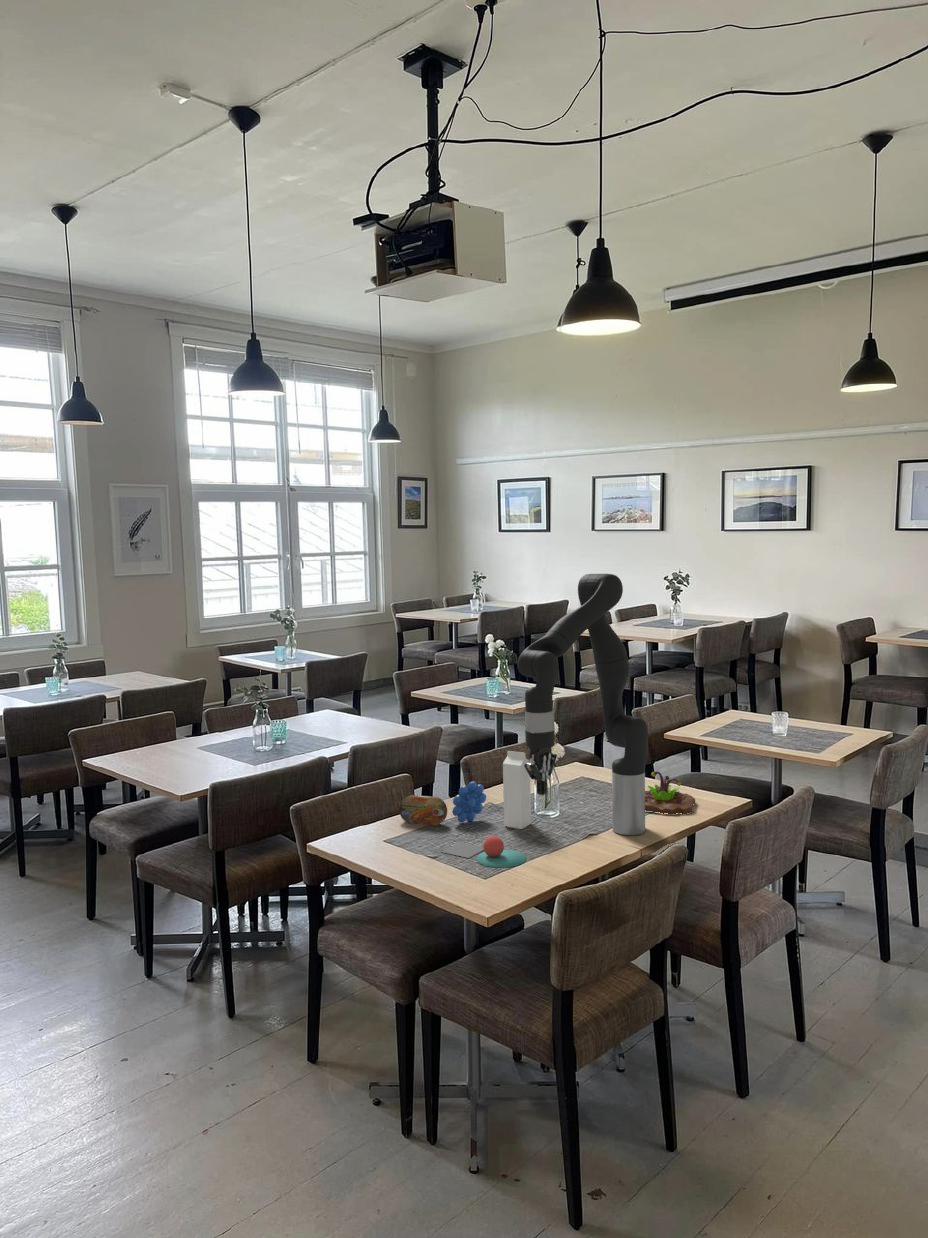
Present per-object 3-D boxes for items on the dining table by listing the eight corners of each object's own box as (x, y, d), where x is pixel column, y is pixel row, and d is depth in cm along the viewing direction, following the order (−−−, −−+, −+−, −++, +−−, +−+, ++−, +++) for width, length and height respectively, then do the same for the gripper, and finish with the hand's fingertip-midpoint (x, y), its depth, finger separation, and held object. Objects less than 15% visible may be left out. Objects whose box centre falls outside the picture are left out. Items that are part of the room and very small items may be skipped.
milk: (521, 829, 253) (520, 755, 251) (503, 826, 256) (502, 753, 254) (531, 823, 258) (530, 750, 256) (513, 820, 261) (512, 748, 259)
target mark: (494, 847, 238) (494, 846, 238) (535, 855, 231) (535, 855, 231) (467, 861, 228) (467, 860, 228) (509, 871, 220) (509, 870, 220)
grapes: (479, 814, 268) (478, 776, 267) (490, 820, 262) (489, 781, 261) (446, 821, 262) (445, 782, 261) (457, 827, 256) (456, 787, 255)
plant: (636, 795, 286) (635, 761, 285) (697, 800, 279) (697, 765, 278) (624, 813, 267) (624, 777, 266) (690, 818, 260) (690, 782, 259)
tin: (398, 822, 262) (398, 795, 261) (403, 819, 265) (402, 792, 264) (444, 827, 256) (444, 799, 256) (449, 824, 259) (448, 796, 259)
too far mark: (460, 842, 242) (460, 842, 242) (487, 848, 237) (487, 847, 237) (441, 852, 235) (441, 851, 235) (468, 858, 230) (468, 857, 230)
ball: (493, 831, 234) (508, 837, 230) (492, 850, 235) (507, 857, 231) (479, 835, 230) (494, 842, 226) (478, 855, 231) (493, 862, 227)
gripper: (540, 721, 230) (542, 785, 231) (513, 731, 219) (516, 799, 221) (565, 724, 225) (567, 789, 227) (539, 734, 215) (541, 803, 216)
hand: (542, 794), depth 224 cm, fingers closed
